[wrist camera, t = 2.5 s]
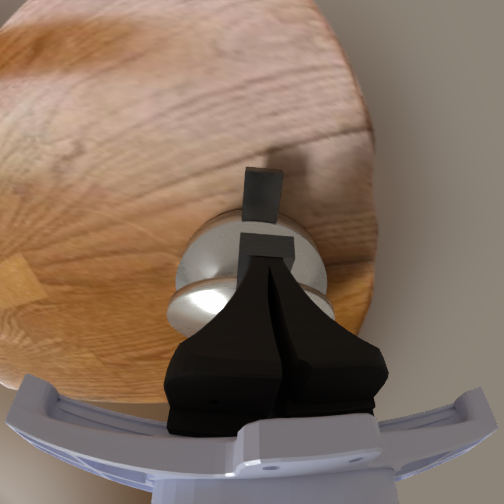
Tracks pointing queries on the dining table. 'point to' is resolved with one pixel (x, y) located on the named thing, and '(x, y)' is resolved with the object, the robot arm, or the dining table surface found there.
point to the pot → (250, 221)
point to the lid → (233, 285)
